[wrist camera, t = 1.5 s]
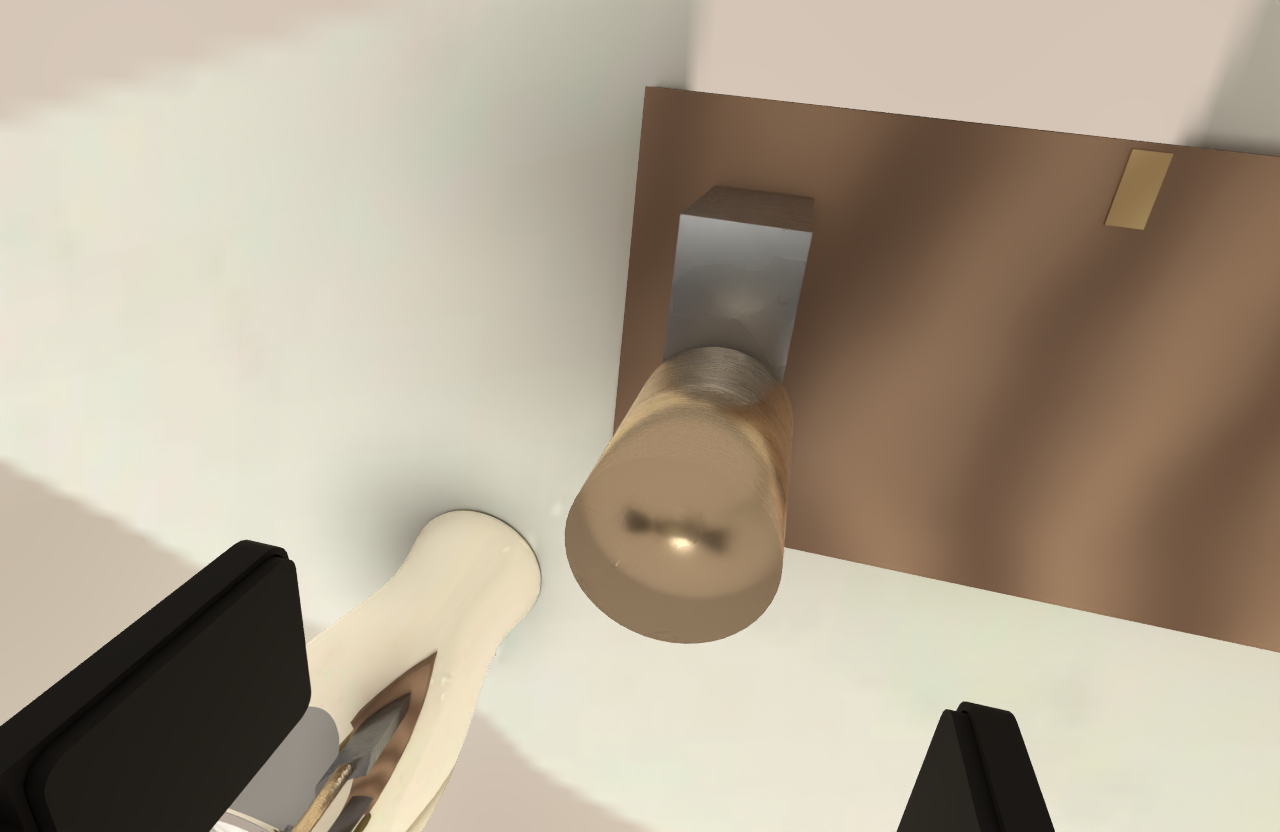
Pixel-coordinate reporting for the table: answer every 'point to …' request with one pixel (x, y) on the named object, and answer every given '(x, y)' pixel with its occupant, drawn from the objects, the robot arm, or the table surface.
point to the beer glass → (396, 687)
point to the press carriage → (704, 435)
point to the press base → (1007, 351)
